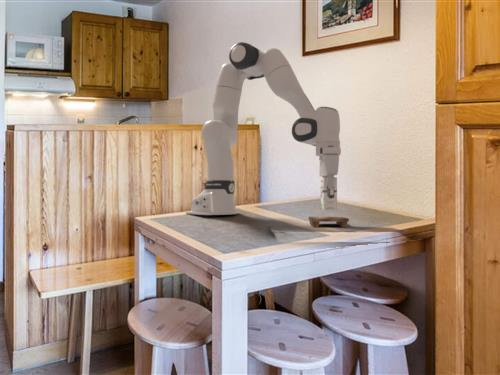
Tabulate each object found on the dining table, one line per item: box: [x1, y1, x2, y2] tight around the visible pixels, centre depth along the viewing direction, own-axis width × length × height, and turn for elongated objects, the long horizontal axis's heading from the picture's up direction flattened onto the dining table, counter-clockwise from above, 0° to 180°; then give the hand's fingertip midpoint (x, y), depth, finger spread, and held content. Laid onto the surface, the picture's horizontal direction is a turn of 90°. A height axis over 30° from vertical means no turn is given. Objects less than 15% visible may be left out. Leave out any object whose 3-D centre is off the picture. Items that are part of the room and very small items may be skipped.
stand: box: [308, 216, 350, 228], centre depth 164 cm, size 13×11×3 cm
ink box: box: [320, 176, 338, 211], centre depth 164 cm, size 9×5×12 cm, turn 0°
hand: (328, 188), depth 164 cm, fingers closed on ink box, 8 cm apart
